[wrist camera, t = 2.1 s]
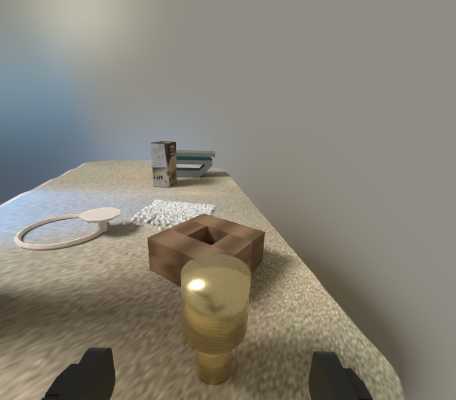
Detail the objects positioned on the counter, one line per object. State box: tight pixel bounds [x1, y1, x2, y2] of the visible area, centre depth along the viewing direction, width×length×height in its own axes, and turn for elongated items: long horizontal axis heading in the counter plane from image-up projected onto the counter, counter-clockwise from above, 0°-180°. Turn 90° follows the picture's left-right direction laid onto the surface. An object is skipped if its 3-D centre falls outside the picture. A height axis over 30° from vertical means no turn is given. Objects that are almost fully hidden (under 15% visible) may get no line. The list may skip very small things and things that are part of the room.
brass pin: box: [181, 254, 251, 385], centre depth 23 cm, size 6×6×12 cm
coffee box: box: [151, 141, 177, 187], centre depth 91 cm, size 9×6×16 cm
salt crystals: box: [122, 199, 216, 230], centre depth 64 cm, size 20×20×2 cm
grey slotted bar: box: [176, 150, 215, 178], centre depth 108 cm, size 25×8×11 cm, turn 96°
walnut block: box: [148, 213, 265, 286], centre depth 41 cm, size 14×14×6 cm
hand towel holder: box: [14, 208, 120, 250], centre depth 53 cm, size 17×4×21 cm
